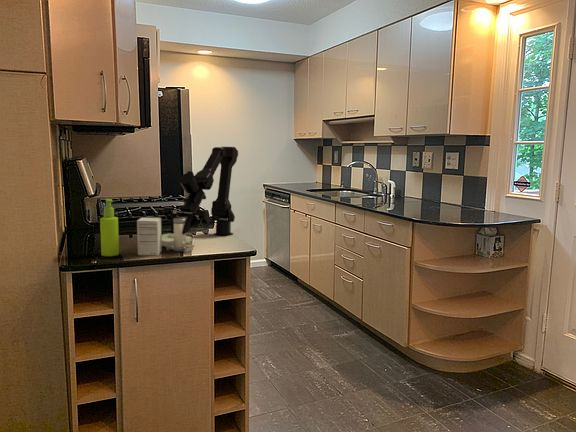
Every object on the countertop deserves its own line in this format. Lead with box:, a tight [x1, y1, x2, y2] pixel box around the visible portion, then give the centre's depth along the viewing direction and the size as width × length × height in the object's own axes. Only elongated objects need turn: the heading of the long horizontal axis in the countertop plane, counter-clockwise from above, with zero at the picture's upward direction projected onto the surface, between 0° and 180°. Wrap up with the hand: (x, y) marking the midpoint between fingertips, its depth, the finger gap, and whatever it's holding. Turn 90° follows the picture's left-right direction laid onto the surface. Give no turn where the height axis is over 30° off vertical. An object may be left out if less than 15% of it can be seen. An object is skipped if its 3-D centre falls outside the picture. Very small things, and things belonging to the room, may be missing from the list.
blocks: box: [166, 244, 196, 253], centre depth 172 cm, size 10×8×1 cm
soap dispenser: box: [99, 198, 120, 257], centre depth 158 cm, size 6×7×20 cm
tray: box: [161, 233, 193, 248], centre depth 182 cm, size 13×13×2 cm
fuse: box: [173, 217, 187, 252], centre depth 168 cm, size 5×5×12 cm
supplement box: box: [136, 217, 163, 256], centre depth 163 cm, size 7×7×13 cm
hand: (177, 233), depth 167 cm, fingers closed on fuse, 4 cm apart
